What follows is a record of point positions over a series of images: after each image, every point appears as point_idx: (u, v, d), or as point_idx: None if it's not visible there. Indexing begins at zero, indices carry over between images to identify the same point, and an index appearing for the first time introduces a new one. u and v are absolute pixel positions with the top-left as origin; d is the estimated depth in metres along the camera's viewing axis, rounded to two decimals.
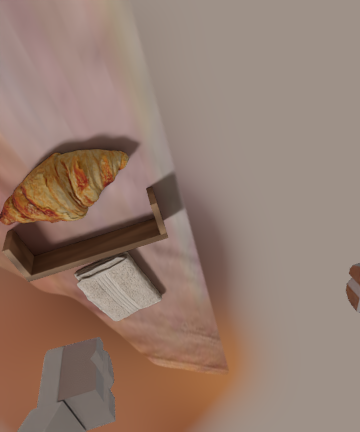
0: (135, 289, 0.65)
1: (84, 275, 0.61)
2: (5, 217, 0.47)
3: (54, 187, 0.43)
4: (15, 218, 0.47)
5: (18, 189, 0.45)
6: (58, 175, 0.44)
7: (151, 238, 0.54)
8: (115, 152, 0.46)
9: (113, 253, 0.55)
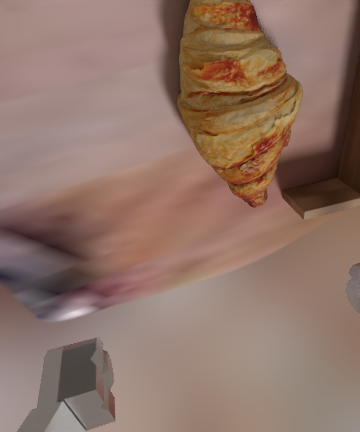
0: None
1: None
2: (253, 200, 0.32)
3: (222, 124, 0.25)
4: (258, 190, 0.31)
5: (216, 171, 0.30)
6: (205, 109, 0.25)
7: None
8: None
9: None
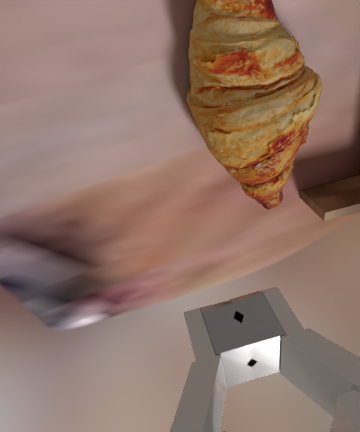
0: None
1: None
2: (268, 201, 0.31)
3: (236, 120, 0.23)
4: (274, 191, 0.29)
5: (229, 171, 0.28)
6: (217, 105, 0.23)
7: None
8: None
9: None
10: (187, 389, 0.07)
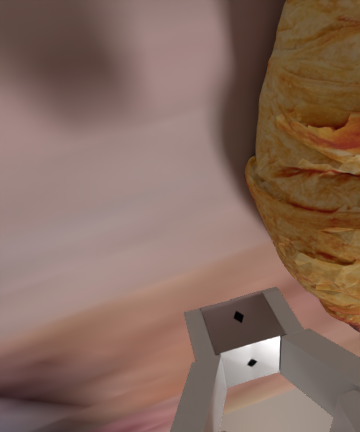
0: None
1: None
2: None
3: None
4: None
5: None
6: (326, 209, 0.11)
7: None
8: None
9: None
10: (187, 389, 0.07)
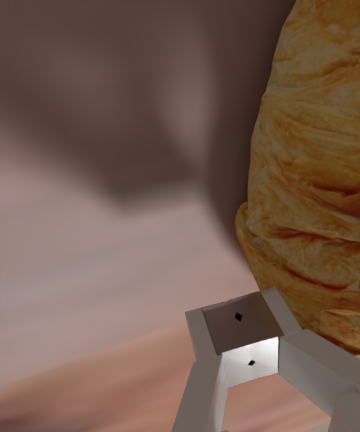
0: None
1: None
2: None
3: None
4: None
5: None
6: (332, 284, 0.09)
7: None
8: None
9: None
10: (188, 389, 0.07)
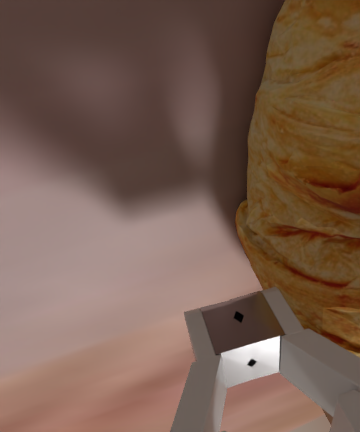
0: None
1: None
2: None
3: None
4: None
5: None
6: (333, 281, 0.09)
7: None
8: None
9: None
10: (187, 389, 0.07)
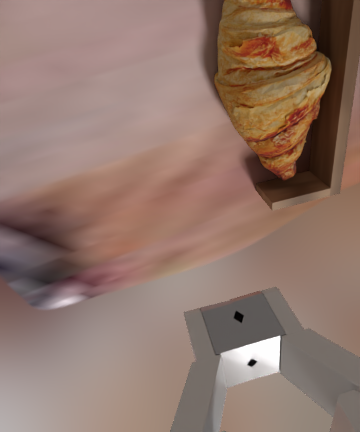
0: None
1: None
2: (283, 172, 0.35)
3: (258, 96, 0.27)
4: (288, 162, 0.33)
5: (250, 145, 0.33)
6: (242, 84, 0.28)
7: None
8: None
9: (357, 45, 0.27)
10: (187, 389, 0.07)
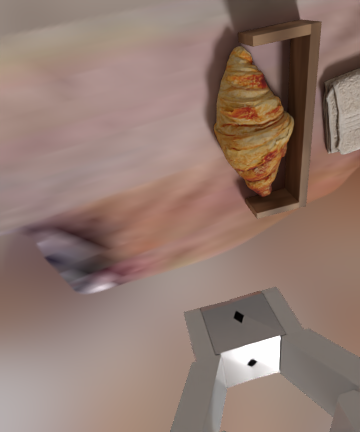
0: None
1: (335, 143, 0.48)
2: (262, 192, 0.48)
3: (243, 143, 0.40)
4: (265, 185, 0.47)
5: (238, 172, 0.46)
6: (233, 134, 0.41)
7: (310, 50, 0.37)
8: (229, 62, 0.38)
9: (311, 109, 0.41)
10: (187, 389, 0.07)
